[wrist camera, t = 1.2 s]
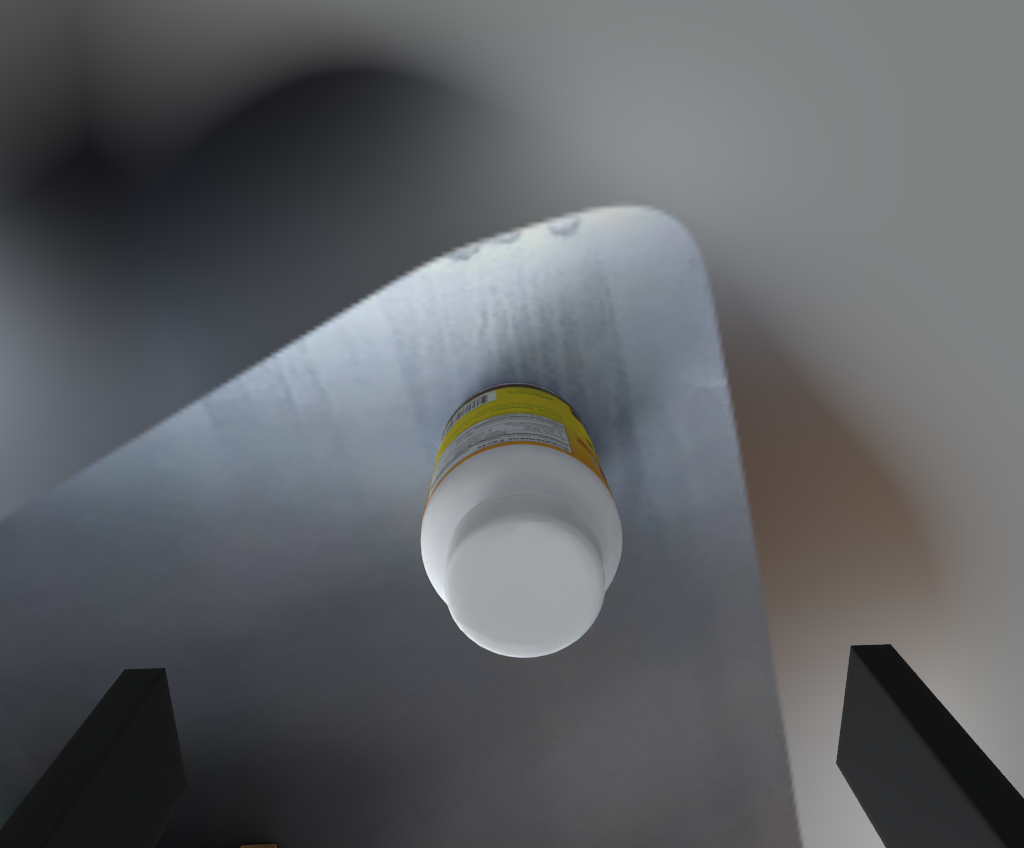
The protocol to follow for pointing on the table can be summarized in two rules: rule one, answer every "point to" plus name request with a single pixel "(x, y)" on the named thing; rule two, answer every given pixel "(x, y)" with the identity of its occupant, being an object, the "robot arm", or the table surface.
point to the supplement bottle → (520, 522)
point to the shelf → (260, 846)
